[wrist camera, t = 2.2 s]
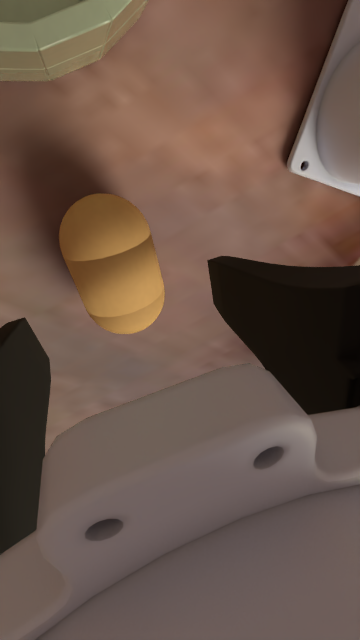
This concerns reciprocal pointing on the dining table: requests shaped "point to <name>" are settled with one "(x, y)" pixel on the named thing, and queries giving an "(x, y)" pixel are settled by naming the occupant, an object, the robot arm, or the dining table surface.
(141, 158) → the dining table surface
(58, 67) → the celadon bowl
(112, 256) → the potato
